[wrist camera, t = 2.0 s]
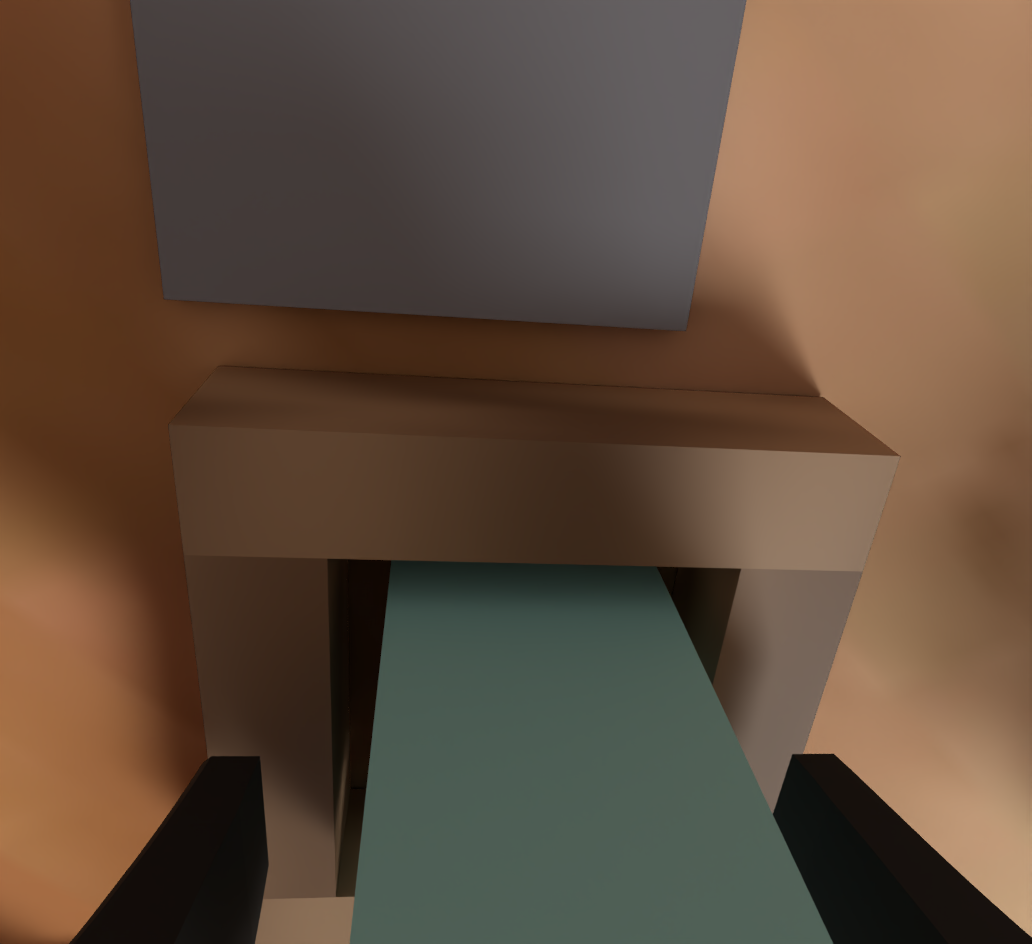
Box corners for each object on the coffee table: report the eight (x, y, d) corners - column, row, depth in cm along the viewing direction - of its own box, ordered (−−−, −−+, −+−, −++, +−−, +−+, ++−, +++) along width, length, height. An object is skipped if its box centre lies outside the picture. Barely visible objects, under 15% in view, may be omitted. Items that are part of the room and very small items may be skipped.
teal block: (391, 757, 14) (340, 1421, 7) (395, 524, 12) (329, 1133, 5) (600, 755, 15) (753, 1378, 8) (640, 531, 13) (905, 1099, 5)
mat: (173, 292, 10) (164, 299, 10) (94, -445, 7) (76, -473, 7) (678, 324, 11) (686, 331, 11) (793, -327, 8) (809, -347, 8)
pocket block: (260, 854, 15) (233, 967, 13) (218, 366, 11) (168, 424, 9) (701, 845, 16) (738, 949, 14) (823, 396, 12) (901, 456, 10)
